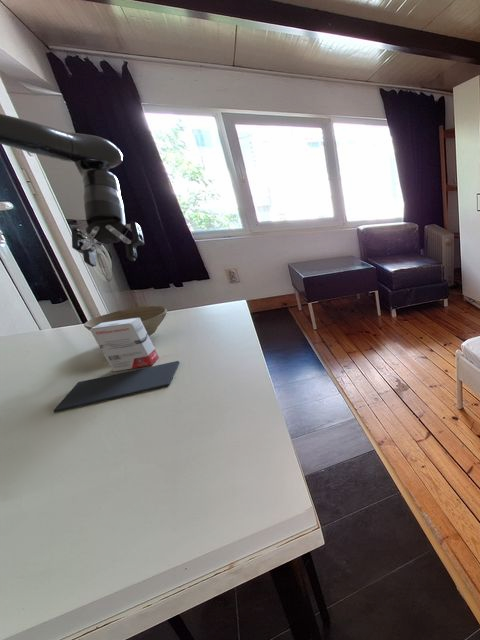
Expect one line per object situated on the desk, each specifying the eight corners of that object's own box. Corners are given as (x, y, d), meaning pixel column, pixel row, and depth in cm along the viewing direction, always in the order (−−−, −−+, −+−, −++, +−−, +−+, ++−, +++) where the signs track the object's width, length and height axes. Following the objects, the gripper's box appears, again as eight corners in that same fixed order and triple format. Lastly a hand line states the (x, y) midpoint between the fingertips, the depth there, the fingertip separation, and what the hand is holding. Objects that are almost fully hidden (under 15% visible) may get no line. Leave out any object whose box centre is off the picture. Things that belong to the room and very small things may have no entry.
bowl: (178, 322, 120) (168, 300, 117) (173, 342, 106) (161, 317, 103) (105, 337, 112) (92, 313, 108) (90, 360, 98) (74, 333, 94)
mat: (54, 412, 76) (52, 410, 76) (79, 384, 87) (78, 381, 86) (169, 385, 84) (168, 383, 84) (179, 362, 94) (178, 360, 94)
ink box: (159, 357, 98) (140, 316, 92) (152, 365, 94) (131, 323, 88) (121, 363, 95) (99, 321, 90) (112, 372, 91) (88, 329, 86)
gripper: (59, 202, 91) (65, 259, 88) (127, 195, 95) (135, 250, 92) (83, 220, 98) (89, 273, 95) (144, 212, 102) (152, 264, 99)
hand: (111, 262), depth 94 cm, fingers open, 8 cm apart
